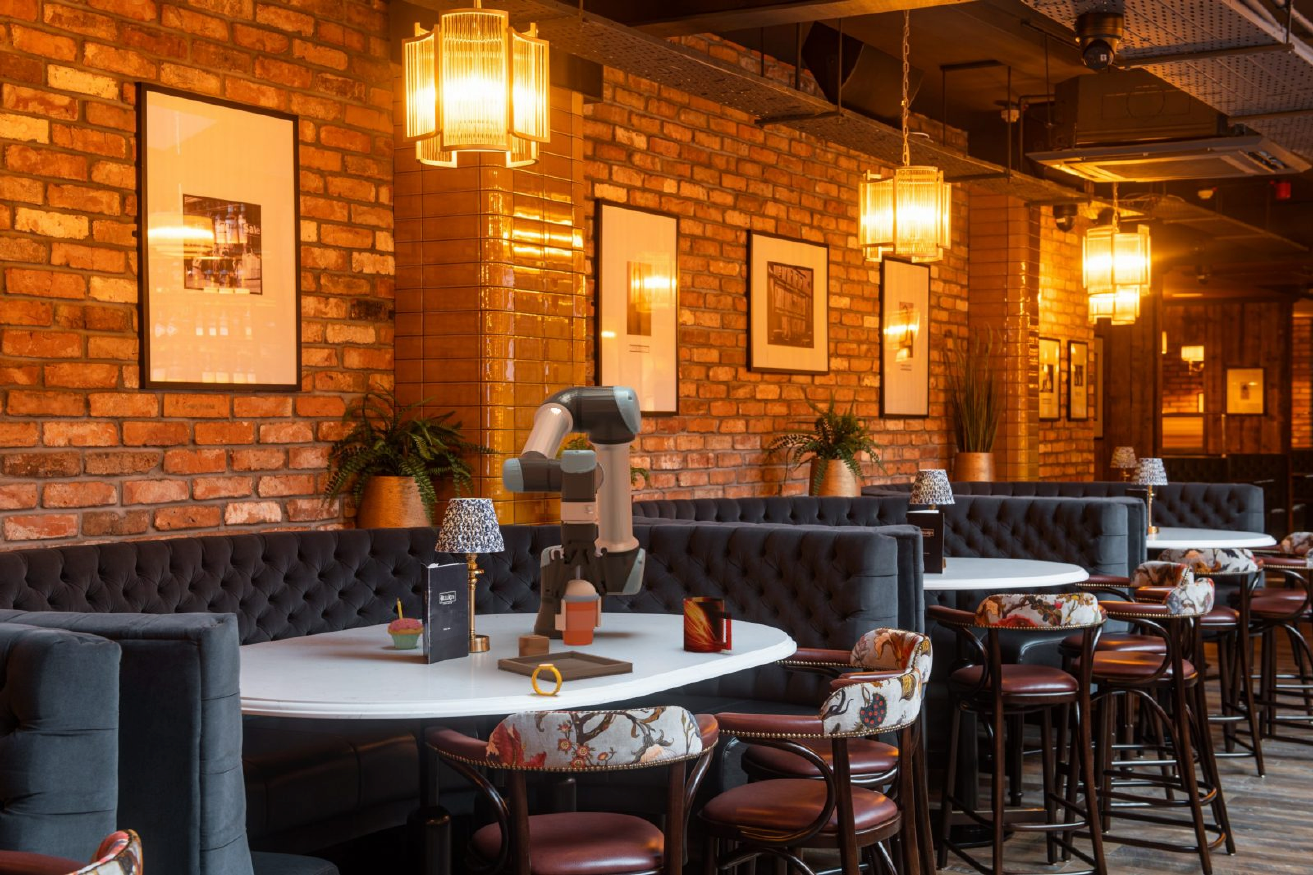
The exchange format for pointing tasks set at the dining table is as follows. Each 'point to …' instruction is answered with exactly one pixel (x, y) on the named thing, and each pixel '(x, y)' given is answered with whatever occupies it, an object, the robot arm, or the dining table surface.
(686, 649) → the mug
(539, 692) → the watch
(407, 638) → the cupcake
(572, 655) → the tray
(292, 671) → the dining table surface
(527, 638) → the walnut block
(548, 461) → the robot arm
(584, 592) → the cup with straw
